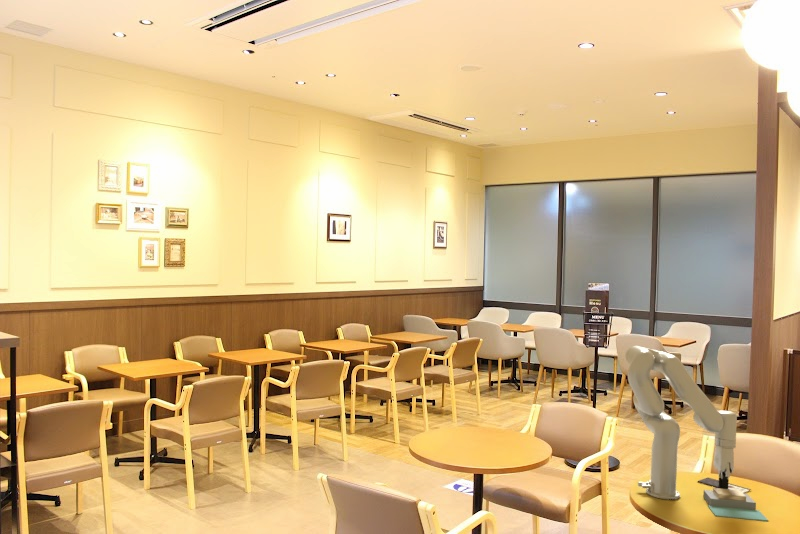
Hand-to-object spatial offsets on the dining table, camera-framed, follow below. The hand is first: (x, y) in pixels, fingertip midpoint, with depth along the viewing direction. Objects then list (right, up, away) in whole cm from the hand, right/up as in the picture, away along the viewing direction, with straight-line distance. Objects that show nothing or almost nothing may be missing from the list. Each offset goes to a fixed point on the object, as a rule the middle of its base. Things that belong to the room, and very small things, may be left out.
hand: (723, 488), depth 264 cm
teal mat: (-3, -4, -18) cm, 18 cm away
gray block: (-1, -4, -7) cm, 8 cm away
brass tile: (-1, -1, -7) cm, 8 cm away
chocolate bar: (+7, -5, +14) cm, 16 cm away
